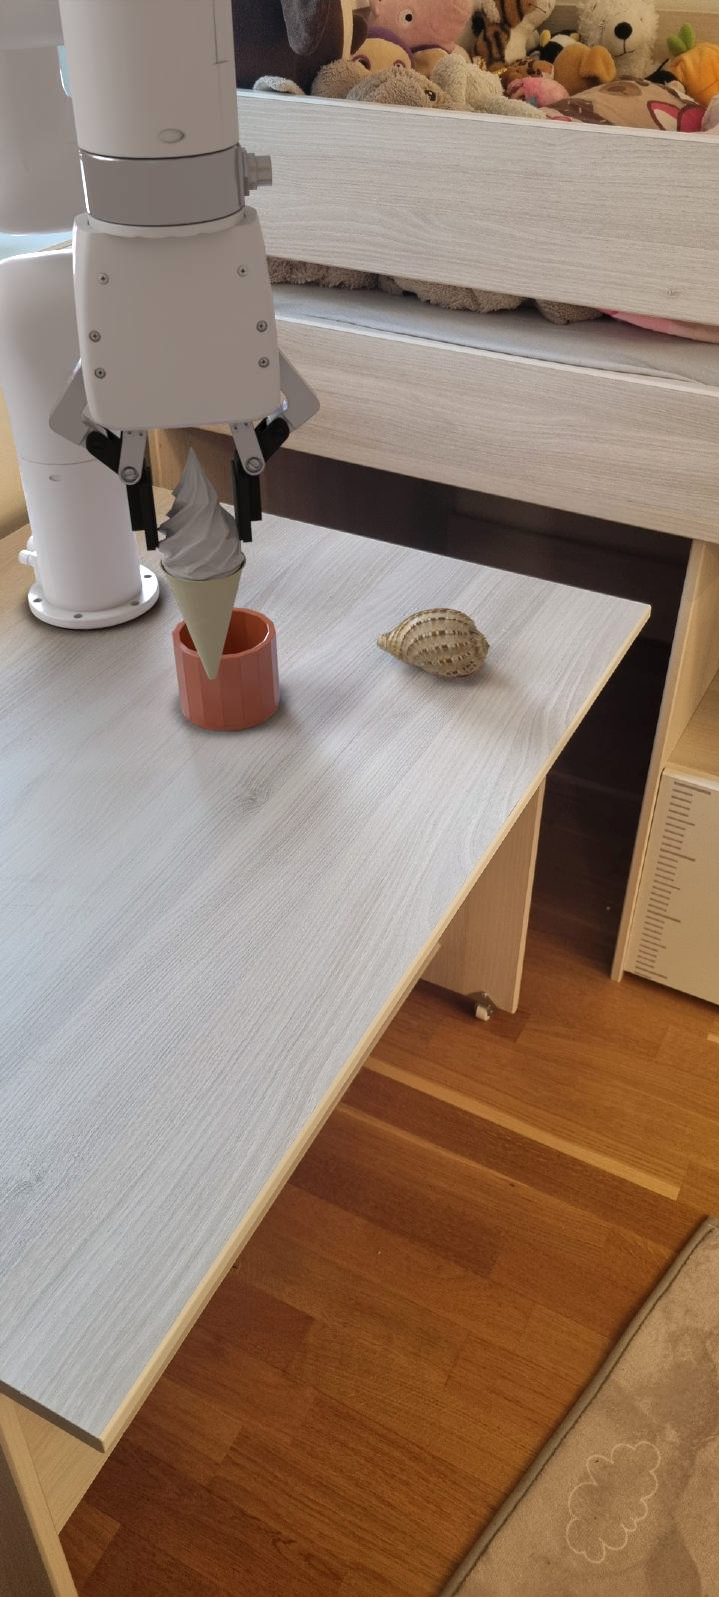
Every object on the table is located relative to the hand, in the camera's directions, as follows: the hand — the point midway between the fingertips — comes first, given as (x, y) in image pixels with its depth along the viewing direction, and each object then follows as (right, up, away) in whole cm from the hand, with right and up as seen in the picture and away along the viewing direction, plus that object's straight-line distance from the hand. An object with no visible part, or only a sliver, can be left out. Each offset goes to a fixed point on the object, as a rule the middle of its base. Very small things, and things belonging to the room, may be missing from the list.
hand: (197, 532), depth 69 cm
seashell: (+16, -3, +39) cm, 42 cm away
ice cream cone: (0, -8, +6) cm, 10 cm away
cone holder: (-2, -7, +34) cm, 35 cm away
